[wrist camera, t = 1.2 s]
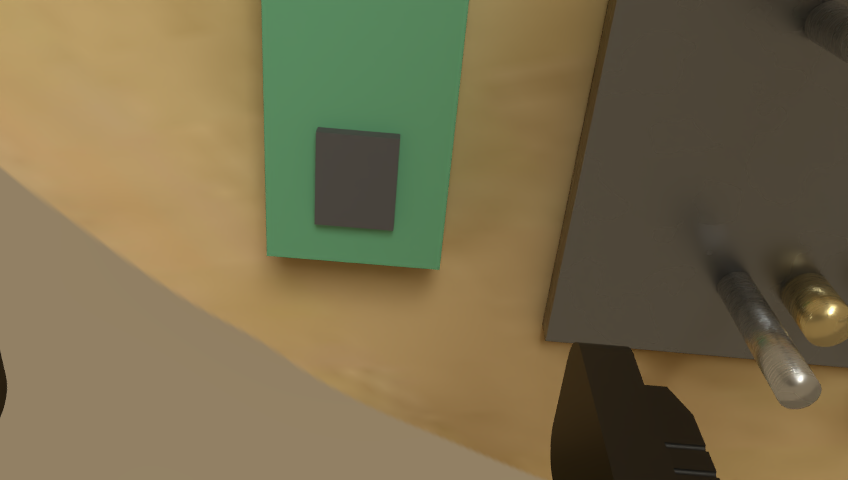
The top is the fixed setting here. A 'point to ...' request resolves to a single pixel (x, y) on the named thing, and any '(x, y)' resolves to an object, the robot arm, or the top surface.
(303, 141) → the board
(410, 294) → the top surface
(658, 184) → the chassis
